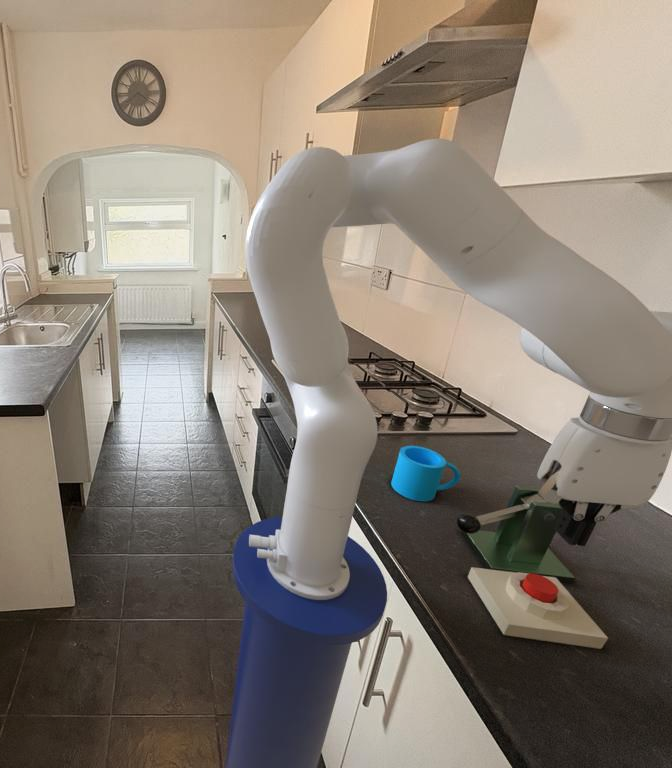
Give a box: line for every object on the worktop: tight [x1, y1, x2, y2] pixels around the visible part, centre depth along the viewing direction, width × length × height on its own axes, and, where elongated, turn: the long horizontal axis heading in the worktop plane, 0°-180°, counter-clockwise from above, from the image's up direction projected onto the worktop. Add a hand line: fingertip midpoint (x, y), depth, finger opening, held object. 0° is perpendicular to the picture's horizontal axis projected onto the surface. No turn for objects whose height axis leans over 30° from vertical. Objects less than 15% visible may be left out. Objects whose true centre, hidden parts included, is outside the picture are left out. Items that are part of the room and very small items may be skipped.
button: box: [522, 574, 558, 603], centre depth 60 cm, size 4×4×2 cm
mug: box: [390, 445, 461, 502], centre depth 86 cm, size 12×8×8 cm
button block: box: [467, 566, 609, 650], centre depth 61 cm, size 12×10×4 cm
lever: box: [456, 494, 550, 534], centre depth 68 cm, size 13×3×3 cm, turn 79°
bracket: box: [462, 485, 576, 584], centre depth 68 cm, size 12×9×13 cm
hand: (568, 537), depth 56 cm, fingers closed
